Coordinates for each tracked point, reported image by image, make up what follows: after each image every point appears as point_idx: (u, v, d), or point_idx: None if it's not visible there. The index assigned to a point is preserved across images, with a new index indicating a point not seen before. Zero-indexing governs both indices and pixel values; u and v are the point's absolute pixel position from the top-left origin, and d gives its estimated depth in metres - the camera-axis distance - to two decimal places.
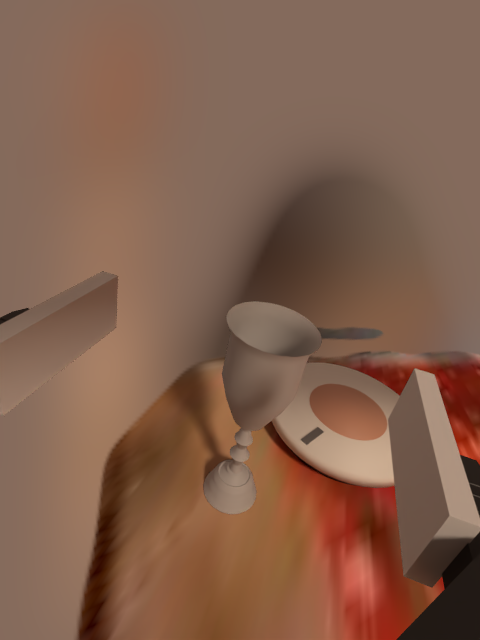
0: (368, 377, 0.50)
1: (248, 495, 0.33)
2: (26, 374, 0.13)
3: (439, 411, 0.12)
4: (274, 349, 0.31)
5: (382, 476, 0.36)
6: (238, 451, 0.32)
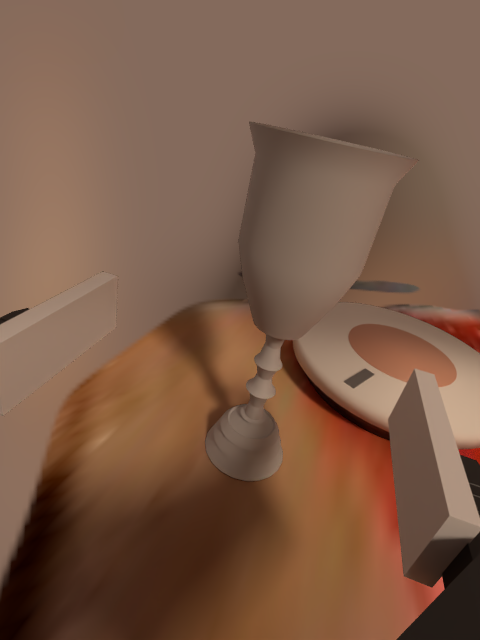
0: (418, 321, 0.38)
1: (272, 453, 0.22)
2: (26, 374, 0.13)
3: (439, 411, 0.12)
4: None
5: (467, 431, 0.24)
6: (259, 382, 0.21)
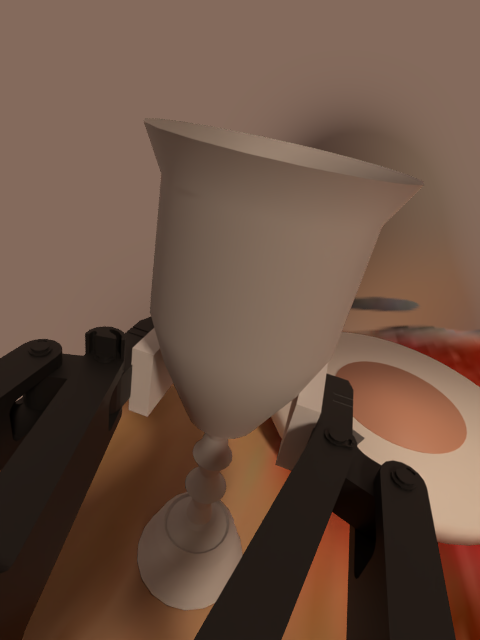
0: (419, 354, 0.33)
1: (224, 568, 0.16)
2: (163, 378, 0.14)
3: None
4: None
5: None
6: (201, 481, 0.15)
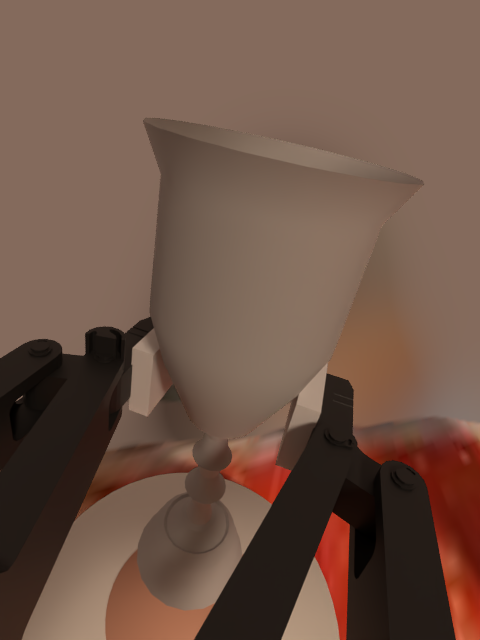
0: (262, 503, 0.28)
1: (224, 568, 0.16)
2: (163, 378, 0.14)
3: None
4: None
5: None
6: (201, 481, 0.15)
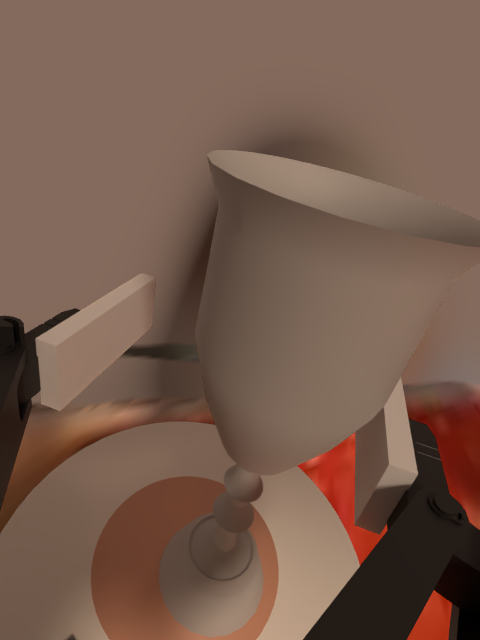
0: None
1: (248, 594, 0.16)
2: (80, 371, 0.13)
3: None
4: None
5: None
6: (231, 510, 0.15)
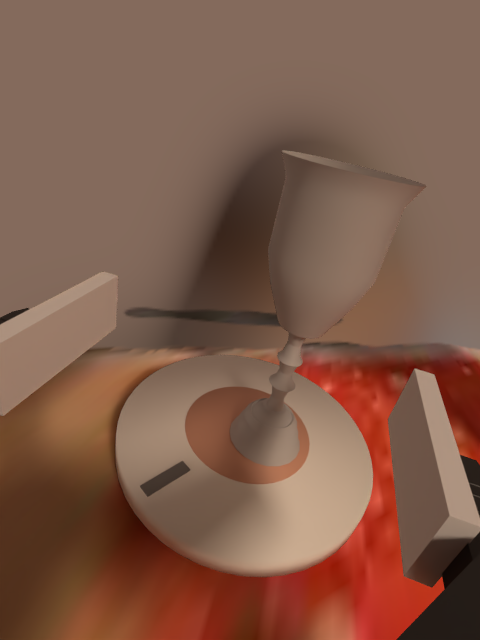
0: (298, 377, 0.33)
1: (291, 442, 0.25)
2: (26, 374, 0.13)
3: (439, 411, 0.12)
4: None
5: (274, 558, 0.19)
6: (282, 377, 0.23)
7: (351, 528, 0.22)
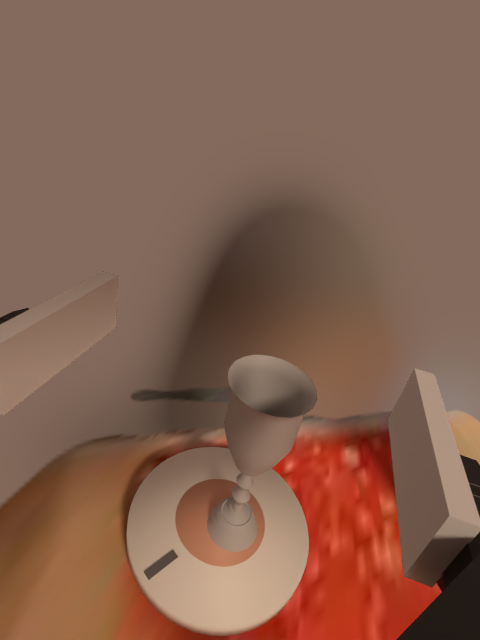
0: None
1: (249, 533, 0.35)
2: (26, 374, 0.13)
3: (439, 411, 0.12)
4: (274, 398, 0.32)
5: (230, 624, 0.30)
6: (239, 493, 0.34)
7: (285, 600, 0.32)
